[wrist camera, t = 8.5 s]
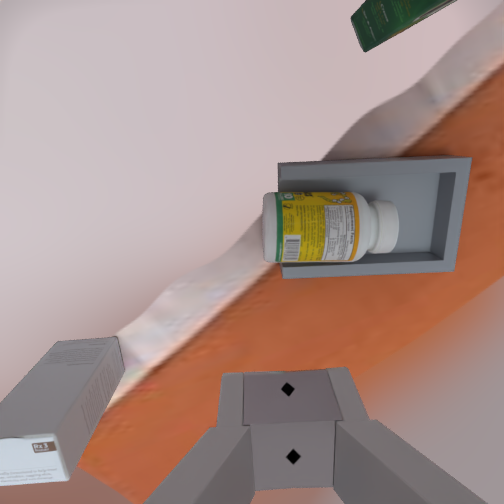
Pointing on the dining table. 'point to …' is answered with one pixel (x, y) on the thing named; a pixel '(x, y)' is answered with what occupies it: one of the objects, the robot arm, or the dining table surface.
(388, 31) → the coffee box
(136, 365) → the dining table surface
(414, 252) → the bottle rest
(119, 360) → the skincare box
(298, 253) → the supplement bottle
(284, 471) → the robot arm
